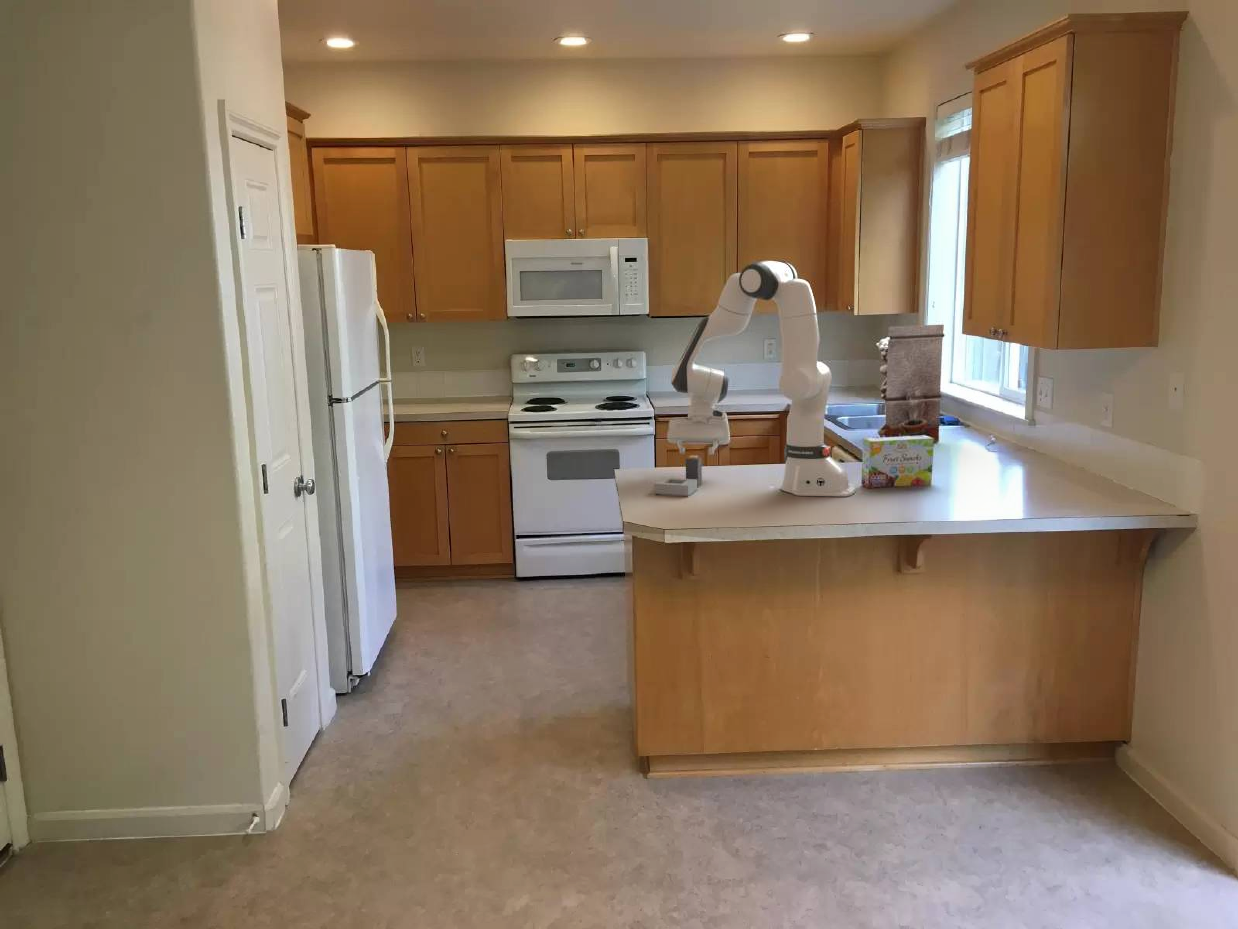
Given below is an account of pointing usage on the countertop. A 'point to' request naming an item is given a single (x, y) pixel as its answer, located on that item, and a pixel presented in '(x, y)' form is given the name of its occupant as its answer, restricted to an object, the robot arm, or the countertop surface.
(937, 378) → the cherub statue
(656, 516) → the countertop surface
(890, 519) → the countertop surface
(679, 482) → the socket plate
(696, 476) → the plug
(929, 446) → the snack box
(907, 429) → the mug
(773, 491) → the countertop surface
